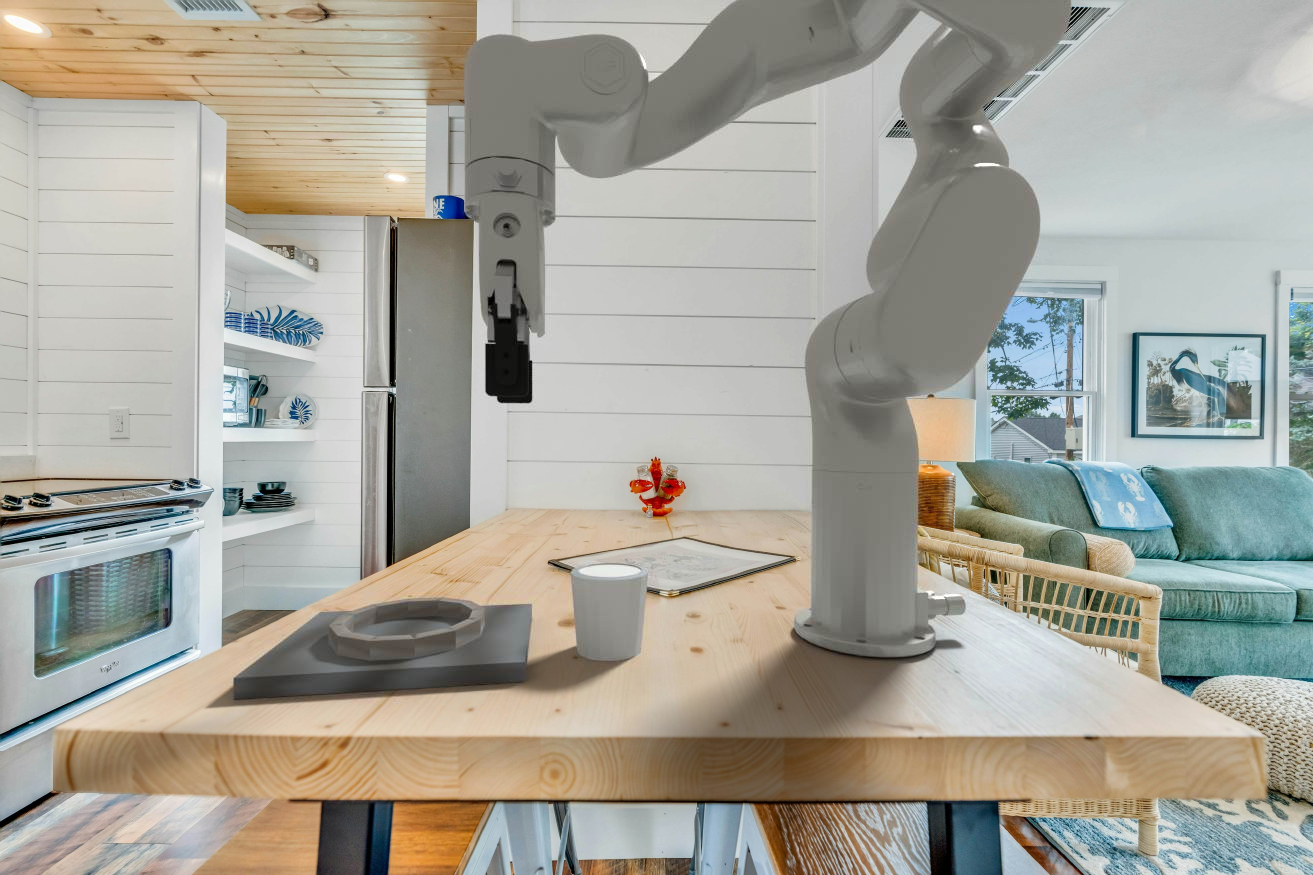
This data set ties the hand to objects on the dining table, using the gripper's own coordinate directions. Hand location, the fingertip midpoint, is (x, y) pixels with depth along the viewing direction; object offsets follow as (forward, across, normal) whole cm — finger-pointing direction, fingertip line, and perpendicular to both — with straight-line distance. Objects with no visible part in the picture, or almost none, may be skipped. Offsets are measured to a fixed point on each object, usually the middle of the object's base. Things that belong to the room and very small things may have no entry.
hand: (511, 399), depth 51 cm
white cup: (+22, 0, -8) cm, 24 cm away
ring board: (+22, +2, +9) cm, 23 cm away
